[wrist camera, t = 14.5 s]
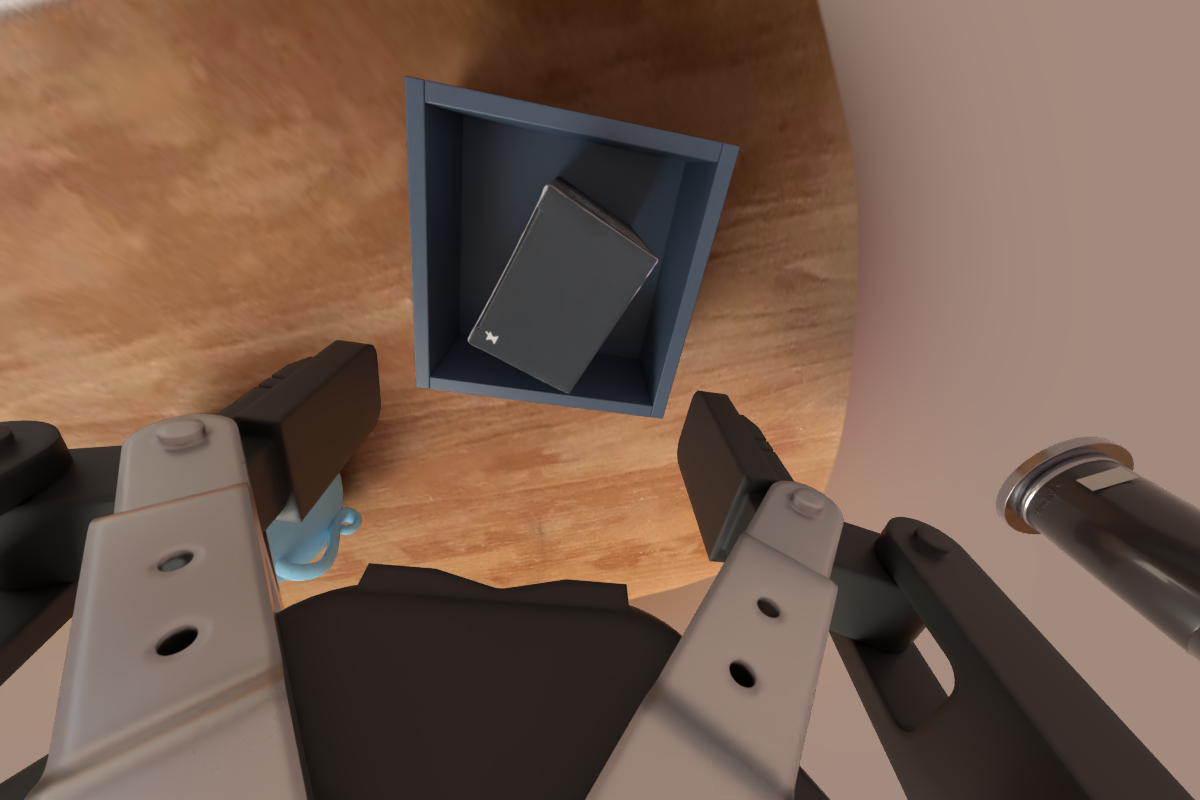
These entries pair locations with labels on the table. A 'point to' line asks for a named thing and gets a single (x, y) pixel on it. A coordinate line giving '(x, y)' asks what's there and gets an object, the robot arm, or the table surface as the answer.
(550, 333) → the box
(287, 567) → the teapot
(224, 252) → the table surface
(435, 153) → the tub
